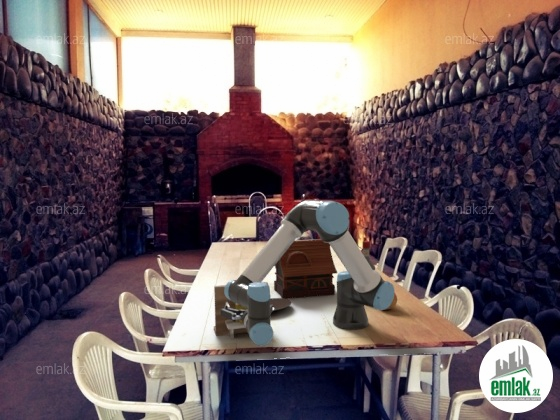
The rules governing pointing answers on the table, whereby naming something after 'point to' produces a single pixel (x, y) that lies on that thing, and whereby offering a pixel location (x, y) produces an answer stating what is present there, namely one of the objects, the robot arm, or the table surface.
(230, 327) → the cleat board
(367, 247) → the liquor
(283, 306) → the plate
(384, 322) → the table surface
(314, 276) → the house
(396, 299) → the onion
